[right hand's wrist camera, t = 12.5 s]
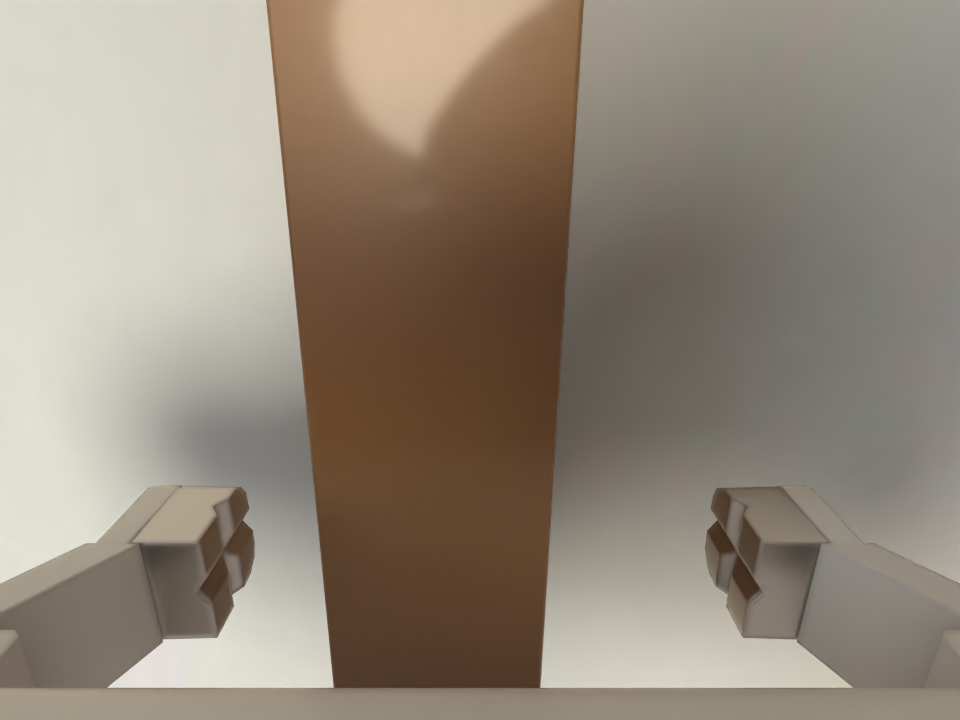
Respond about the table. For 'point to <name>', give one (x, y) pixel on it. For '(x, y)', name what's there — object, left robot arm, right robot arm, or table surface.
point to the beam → (430, 319)
